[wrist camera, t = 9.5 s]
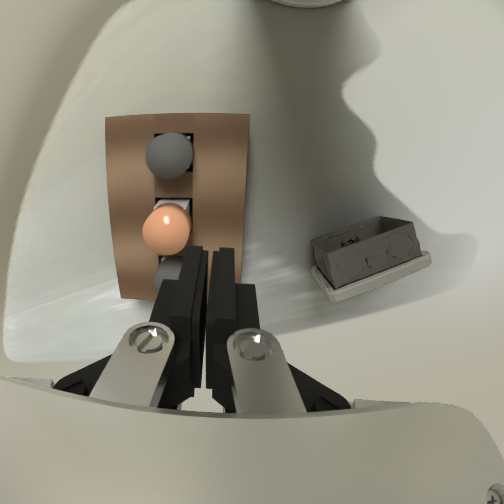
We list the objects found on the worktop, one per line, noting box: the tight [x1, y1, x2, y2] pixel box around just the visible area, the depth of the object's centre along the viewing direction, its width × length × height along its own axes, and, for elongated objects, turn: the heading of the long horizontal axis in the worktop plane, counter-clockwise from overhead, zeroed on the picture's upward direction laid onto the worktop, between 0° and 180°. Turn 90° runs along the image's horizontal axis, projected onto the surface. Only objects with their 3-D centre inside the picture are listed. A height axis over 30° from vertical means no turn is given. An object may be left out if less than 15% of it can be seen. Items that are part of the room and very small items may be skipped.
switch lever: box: [145, 132, 194, 179], centre depth 22 cm, size 3×3×6 cm
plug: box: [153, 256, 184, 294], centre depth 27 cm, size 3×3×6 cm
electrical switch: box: [310, 216, 432, 302], centre depth 26 cm, size 9×5×9 cm, turn 109°
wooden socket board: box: [105, 113, 250, 302], centre depth 26 cm, size 16×11×4 cm
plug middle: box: [143, 197, 192, 255], centre depth 23 cm, size 3×3×6 cm
